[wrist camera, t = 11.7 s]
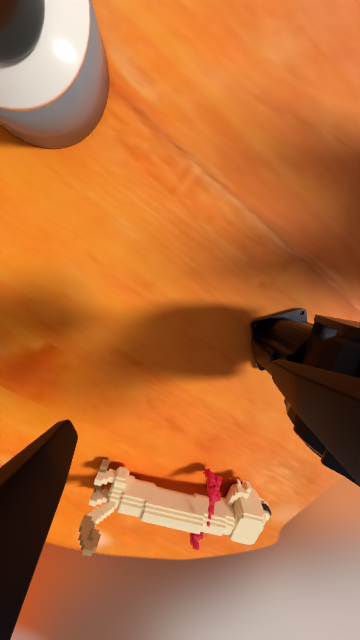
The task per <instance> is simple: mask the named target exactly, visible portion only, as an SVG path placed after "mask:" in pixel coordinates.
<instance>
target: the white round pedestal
mask: <svg viewBox="0 0 360 640" xmlns="http://www.w3.org/2000/svg"><path fill="white" fill-rule="evenodd" d="M108 91H109V69H108V61H107V56H106V51H105V47H104V44H103V40H102V37H101V33H100V29H99V26H98V22H97V18H96V15H95V11H94V8H93V4H92V0H45V17H44V25H43V30H42V33H41V36H40V38H39V41H38V42H37V44H36V46H35V47H34V49H33V50H32V51H31V52H30V53H29V54H28V55H27V56H25V57H24V58H22V59H20V60H18V61H15V62H11V63H0V124H1V125H2V126H3V127H4V128H5V129H6V130H7V131H9V132H10V133H11V134H13V135H14V136H16V137H17V138H19V139H21V140H22V141H24V142H27V143H29V144H31V145H34V146H38V147H41V148H48V149H60V148H66V147H69V146H72V145H75V144H77V143H78V142H80V141H82V140H83V139H85V138H86V137H87V136H88V135H89V134H90V133H91V132H92V131H93V130H94V129H95V127H96V126H97V124H98V123H99V121H100V119H101V117H102V115H103V112H104V109H105V106H106V103H107V98H108Z"/></svg>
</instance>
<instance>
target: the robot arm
mask: <svg viewBox="0 0 360 640" xmlns="http://www.w3.org/2000/svg"><path fill="white" fill-rule="evenodd" d="M301 311H302V313H301V314H300V312H301ZM314 321H315V322H314V324H311V323H308V322H307V312H306V310H305V309H302V308H299V309H295V310H291V311H287V312H284V313H280V314H276V315H273V316H269V317H265V318H261V319H258V320H254V321H252V322H251V332H252V340H251V344H252V350H253V356H254V359H255V360H256V363H257V367H258V368H259V369H260V370H266V371H267V372H268V373H269V374H271V375H272V379H273V381H274V383H275V385H276V386H277V387H278V389H279V390H280V391H281V393H282V394H283V396H284V397H285V400H284V403H285V405H286V410H287V415H288V416H289V418H290V420H291V421H292V423H293V424H294V428H293V430H294V431H295V433H296V434H297V435H298V436H299V437H300V438H301V439H302V440H303V441H304V443H305V444H306V445H307V446H308V447H309V448H310V449H311V450H312V451H313V452H314V453H316V454H317V455H318V456H320V457H321V458H322V459H321V462H322V464H323V465H325V466H326V467H328V468H330V469H332V470H334V471H336V472H337V473H339V474H341V475H343V476H345V477H346V478H348V479H349V480H351V481H352V482H354V483H355V484H357V485H358V486H359V487H360V322H356V321H350V320H344V319H339V318H333V317H327V316H322V315H315V318H314ZM256 323H257V325H256V326H254V324H256ZM261 366H262V367H261ZM77 440H78V435H77V432H76V430H75V428H74V426H73V425H72V423H71V421H70V420H63V421H60V422H57V423H56V424H55V425H54V426H52V427H51V428H50V429H49V430H47V431H46V432H45V433H43V434H42V435H41V436H40V437H38V438H37V439H36V440H35V441H33V442H32V443H31V444H30V445H28V446H27V447H26V448H25V449H23V450H22V451H21V452H19V453H18V454H17V455H16V456H14V457H13V458H12V459H11V460H9V461H8V462H7V463H6V464H4V465H3V466H2V467H1V468H0V640H10V639H11V636H12V633H13V631H14V628H15V625H16V622H17V619H18V616H19V614H20V611H21V608H22V605H23V602H24V600H25V597H26V594H27V591H28V588H29V585H30V583H31V580H32V577H33V574H34V571H35V569H36V565H37V563H38V560H39V557H40V554H41V552H42V549H43V546H44V543H45V541H46V538H47V535H48V532H49V529H50V526H51V524H52V521H53V518H54V515H55V512H56V510H57V507H58V504H59V501H60V498H61V495H62V493H63V490H64V487H65V484H66V480H67V477H68V474H69V470H70V466H71V462H72V459H73V455H74V451H75V447H76V444H77Z"/></svg>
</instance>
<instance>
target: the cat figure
mask: <svg viewBox="0 0 360 640" xmlns="http://www.w3.org/2000/svg"><path fill="white" fill-rule="evenodd" d="M109 464H110V460H107V459H103V461H102V463H101V465H100V469H99V471H98V474H97V476H96V478H95V482H94V485H96V486H95V489H94V492H93V494H92V496H91V499H90V502H89V505H91V506H95V507H96V504H100V505H101V504H102V502H105V505H102V507H101V508H99V507H96V509H95V510H93V509H92V512H91V513H90V512H88V515H84V518H83V520H82V522H81V525H80V528H79V532H80V535H79V539H78V540H81V541H80V545H82V547H81V550H83V553H82V555H86V556H91V555H92V552H94V553H95V552H96V549H97V545H98V542H99V539H100V534H98V533H99V530H97V529H94V528H95V525H96V523H97V524H99V522H100V521H103V518H106V517H107V515H110V513H113V511H114V508H115V509H119V512H118V513H122V514H127V515H131V516H136V517H140V518H141V521H143V522H147V523H152V524H156V525H160V526H165V527H169V528H174V529H178V530H182V531H187V532H191V533H190V542H191V545H193V549H196V550H199V543H198V541H197V540H200V539H203V532H205V533H210V534H214V535H219V536H222V534H225V535H229V537H230V539H232V541H235V542H239V543H243V544H248V545H251V544H254V543H255V541H256V539H257V537H258V536H259V534H260V532H262V530H263V528H264V526H265V523H266V520H267V521H268V520H269V518H270V515H271V512H270V509H269V507H268V502H266V501H264V500H263V499H262V498H260V497H259V495H258V493H257V492H256V491H255V490H254V488H252V487H251V484H250V482H249V481H245V480H243V481H242V485H241V482H240V481H239V479H237V483H235V484H232V486H231V487H230V489H229V492H228V494H227V496H226V498H223V497H220V496H221V492H219V489H220V485H221V483H222V480H221V477H220V476H216V475H214V473H213V472H211V471H210V469H205V472H204V473H203V474H205V477H206V478H207V496H205V495H201V494H196V493H194V495H190V494H186V493H182V492H178V491H174V490H169V489H165V488H161V487H157V486H156V484H155V483H151V482H147V481H142V480H138V479H135V476H132V475H129V473H130V471H128V468H125V467H121V466H120V467H119V468H117V469H116V470H112V469H109V471H107V470H108V467H109ZM107 482H110V483H112V485H111V488H110V490H108V489H104V491H102V489H103V486H104V484H106V485H107ZM261 502H263V503H261Z"/></svg>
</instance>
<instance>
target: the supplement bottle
mask: <svg viewBox="0 0 360 640" xmlns="http://www.w3.org/2000/svg"><path fill="white" fill-rule="evenodd" d="M44 17H45V0H0V63H11V62H15V61H18V60H20V59H22V58H24V57H25V56H27V55H28V54H29V53H30V52H31V51H32V50H33V49H34V47H35V46H36V44H37V42H38V41H39V38H40V36H41V33H42V30H43V25H44Z"/></svg>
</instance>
